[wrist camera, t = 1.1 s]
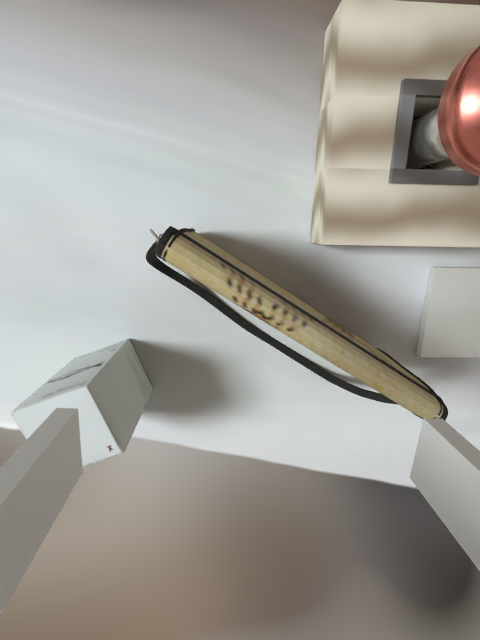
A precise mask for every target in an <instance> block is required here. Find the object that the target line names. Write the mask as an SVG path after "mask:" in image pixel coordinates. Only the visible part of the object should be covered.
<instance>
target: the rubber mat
mask: <svg viewBox="0 0 480 640" xmlns="http://www.w3.org/2000/svg"><path fill="white" fill-rule="evenodd" d="M416 355H417V356H419V357H420V358H480V267H430V273H429V279H428V285H427V291H426V297H425V303H424V309H423V315H422V321H421V327H420V333H419V339H418V345H417V351H416Z"/></svg>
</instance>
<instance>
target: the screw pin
mask: <svg viewBox="0 0 480 640" xmlns="http://www.w3.org/2000/svg"><path fill="white" fill-rule="evenodd" d="M448 158H450V159H451V160H452V162H453V163H454V164H455V165H457V166H458V167H459V168H460V169H462V170H464V171H465V172H468V173H470V174H473V175H476V176H480V44H479V45H478V46H476V47H475V48H474V49H472V50H471V51H470V52H469V53H468V54H467V55H465V56H464V57H463V59H462V60H461V61H460V62H459V63H458V64H457V66H456V67H455V68H454V70H453V71H452V73H451V75H450V76H449V78H448V80H447V82H446V84H445V86H444V89H443V92H442V95H441V98H440V103H439V107H438V108H437V109H435V110H433V111H431V112H430V113H428V114H426V115H424V116H423V117H421V118H419V119H417V120H415V121H414V122H412V127H411V134H410V141H409V148H408V156H407V163H406V169H416V168H420V167H423V166H426V165H429V164H432V163H436V162H439V161H442V160H445V159H448Z"/></svg>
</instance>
